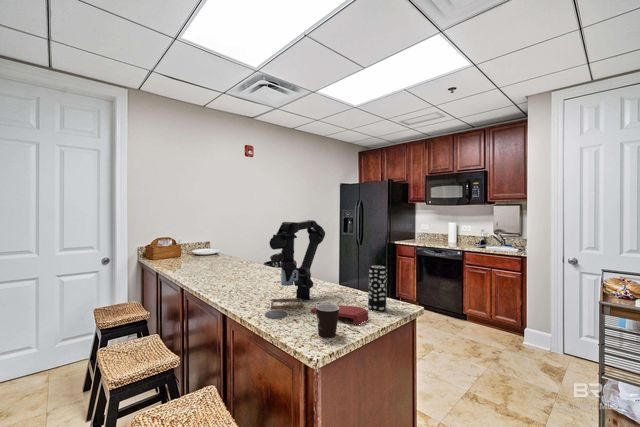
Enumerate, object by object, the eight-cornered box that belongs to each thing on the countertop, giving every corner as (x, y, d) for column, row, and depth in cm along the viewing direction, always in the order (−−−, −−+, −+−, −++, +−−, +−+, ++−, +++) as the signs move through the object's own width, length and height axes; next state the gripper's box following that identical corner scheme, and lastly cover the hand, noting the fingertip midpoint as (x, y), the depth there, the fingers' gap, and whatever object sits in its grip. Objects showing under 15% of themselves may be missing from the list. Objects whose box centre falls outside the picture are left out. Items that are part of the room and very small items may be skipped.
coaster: (287, 310, 135) (287, 310, 135) (288, 318, 125) (288, 317, 125) (265, 311, 133) (265, 310, 133) (264, 319, 123) (264, 318, 123)
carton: (309, 320, 134) (355, 327, 117) (308, 309, 134) (353, 314, 118) (326, 314, 143) (371, 319, 127) (325, 303, 143) (370, 307, 127)
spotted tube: (387, 308, 142) (388, 266, 142) (383, 313, 134) (384, 269, 134) (370, 305, 145) (371, 264, 145) (366, 310, 138) (367, 267, 138)
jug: (297, 282, 147) (297, 266, 147) (298, 285, 141) (298, 268, 141) (280, 282, 146) (281, 266, 146) (281, 285, 140) (281, 268, 140)
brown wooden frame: (301, 300, 151) (301, 298, 151) (303, 308, 139) (303, 305, 139) (271, 301, 148) (271, 298, 148) (270, 309, 136) (271, 306, 136)
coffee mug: (336, 340, 104) (337, 312, 104) (313, 337, 106) (313, 310, 106) (341, 328, 116) (341, 302, 116) (319, 325, 117) (320, 300, 117)
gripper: (271, 245, 151) (270, 275, 152) (270, 250, 133) (270, 284, 133) (293, 245, 153) (292, 275, 153) (295, 250, 135) (294, 284, 135)
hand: (287, 279), depth 143 cm, fingers closed on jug, 6 cm apart
